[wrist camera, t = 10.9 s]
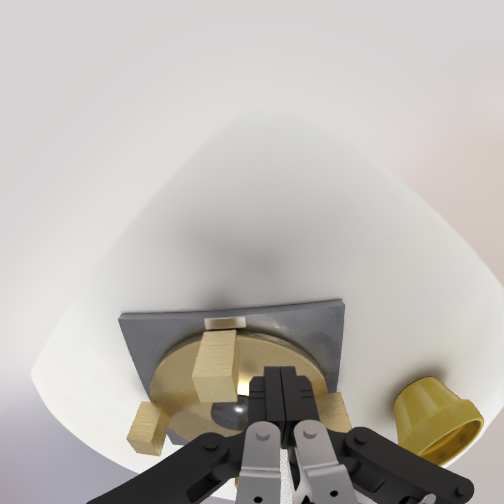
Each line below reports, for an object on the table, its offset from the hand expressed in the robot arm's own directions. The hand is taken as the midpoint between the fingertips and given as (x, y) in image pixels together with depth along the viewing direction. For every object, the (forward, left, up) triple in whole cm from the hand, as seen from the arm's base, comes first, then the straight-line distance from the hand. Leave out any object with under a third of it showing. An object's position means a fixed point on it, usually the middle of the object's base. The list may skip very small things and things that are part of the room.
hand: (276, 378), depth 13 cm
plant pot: (-17, -17, -10) cm, 26 cm away
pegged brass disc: (-11, +4, -8) cm, 14 cm away
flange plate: (-11, +4, -10) cm, 15 cm away
